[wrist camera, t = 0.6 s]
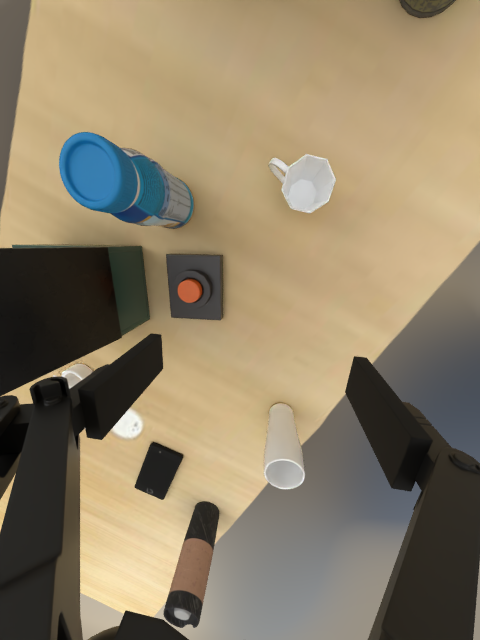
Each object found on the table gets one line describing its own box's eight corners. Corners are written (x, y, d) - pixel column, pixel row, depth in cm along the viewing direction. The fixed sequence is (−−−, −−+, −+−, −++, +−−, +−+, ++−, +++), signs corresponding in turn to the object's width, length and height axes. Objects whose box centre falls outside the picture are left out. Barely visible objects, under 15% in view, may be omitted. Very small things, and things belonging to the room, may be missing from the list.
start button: (180, 278, 42) (176, 279, 40) (202, 279, 41) (199, 280, 39) (181, 300, 43) (178, 302, 41) (202, 301, 42) (200, 303, 41)
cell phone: (135, 484, 66) (134, 487, 65) (152, 441, 60) (150, 444, 59) (164, 497, 66) (163, 500, 65) (183, 455, 60) (182, 458, 59)
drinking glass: (302, 414, 51) (314, 480, 37) (278, 428, 53) (280, 495, 39) (283, 393, 50) (288, 452, 36) (259, 408, 52) (254, 469, 38)
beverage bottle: (205, 209, 41) (147, 181, 22) (170, 239, 43) (92, 236, 24) (174, 165, 39) (85, 94, 20) (140, 198, 42) (32, 162, 23)
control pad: (170, 253, 44) (161, 254, 40) (222, 255, 43) (218, 256, 39) (175, 314, 48) (167, 320, 44) (223, 317, 47) (218, 323, 43)
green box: (78, 314, 51) (35, 330, 42) (63, 244, 46) (11, 244, 37) (150, 318, 49) (121, 336, 40) (141, 246, 44) (107, 246, 35)
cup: (303, 228, 40) (310, 224, 32) (256, 190, 39) (253, 177, 31) (332, 190, 37) (348, 176, 30) (284, 149, 37) (287, 124, 29)
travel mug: (199, 496, 64) (169, 602, 45) (224, 508, 64) (205, 618, 45) (190, 512, 67) (158, 618, 48) (214, 523, 67) (191, 633, 48)
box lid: (-17, 400, 24) (-12, 401, 23) (-77, 249, 19) (-71, 249, 19) (117, 337, 39) (122, 337, 39) (103, 246, 35) (107, 246, 34)
